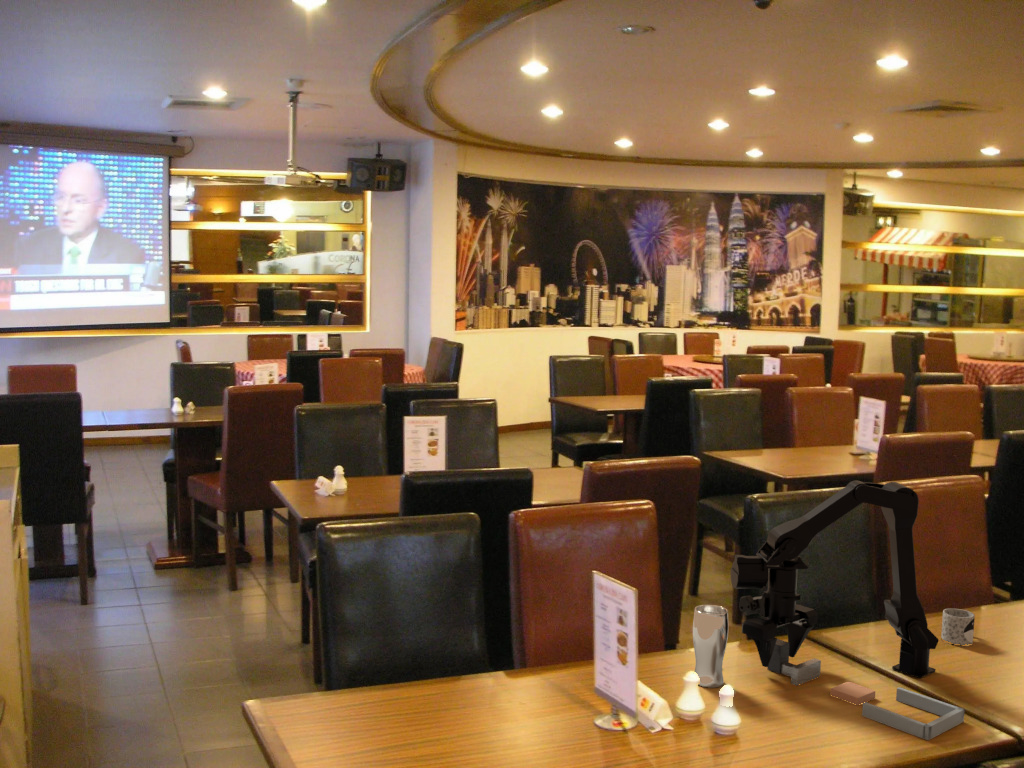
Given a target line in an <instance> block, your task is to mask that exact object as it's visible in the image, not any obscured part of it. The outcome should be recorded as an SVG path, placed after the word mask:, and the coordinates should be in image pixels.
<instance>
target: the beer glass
mask: <svg viewBox="0 0 1024 768" xmlns="http://www.w3.org/2000/svg"><path fill="white" fill-rule="evenodd" d="M728 638H729V611H728V609H727V608H726V607H723V606H720V605H717V604H716V605H714V604H700V605H696V606H695V607H694V613H693V623H692V641H693V643H692V644H693V650H694V656H695V657H694V659H695V667H694V672H696V673H697V674H698V676H699V678H700V684H699V685H700V686H699V687H701V686H702V688H706V687H708V688H709V689H714V688H715V689H717V688H720V687H722V686H723V685H724V684H725V682H724V676H723V662H724V657H725V654H726V648H727V644H728ZM708 688H707V689H708Z"/></svg>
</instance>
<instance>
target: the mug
mask: <svg viewBox="0 0 1024 768" xmlns="http://www.w3.org/2000/svg"><path fill="white" fill-rule="evenodd" d="M975 616H976V615H975V613H973V612H972V611H969V610H966V609H960V608H945V609H943V610H942V618H941V619H942V621H941V622H942V623H941V635H940V636H941V637H940V639H941V638H942V639H943V640H945V641H948V642H951V643H953V644H960V645H965V644H967V645H968V644H972V643H973V644H974V632H975V631H974V630H975V618H976V617H975Z"/></svg>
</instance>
